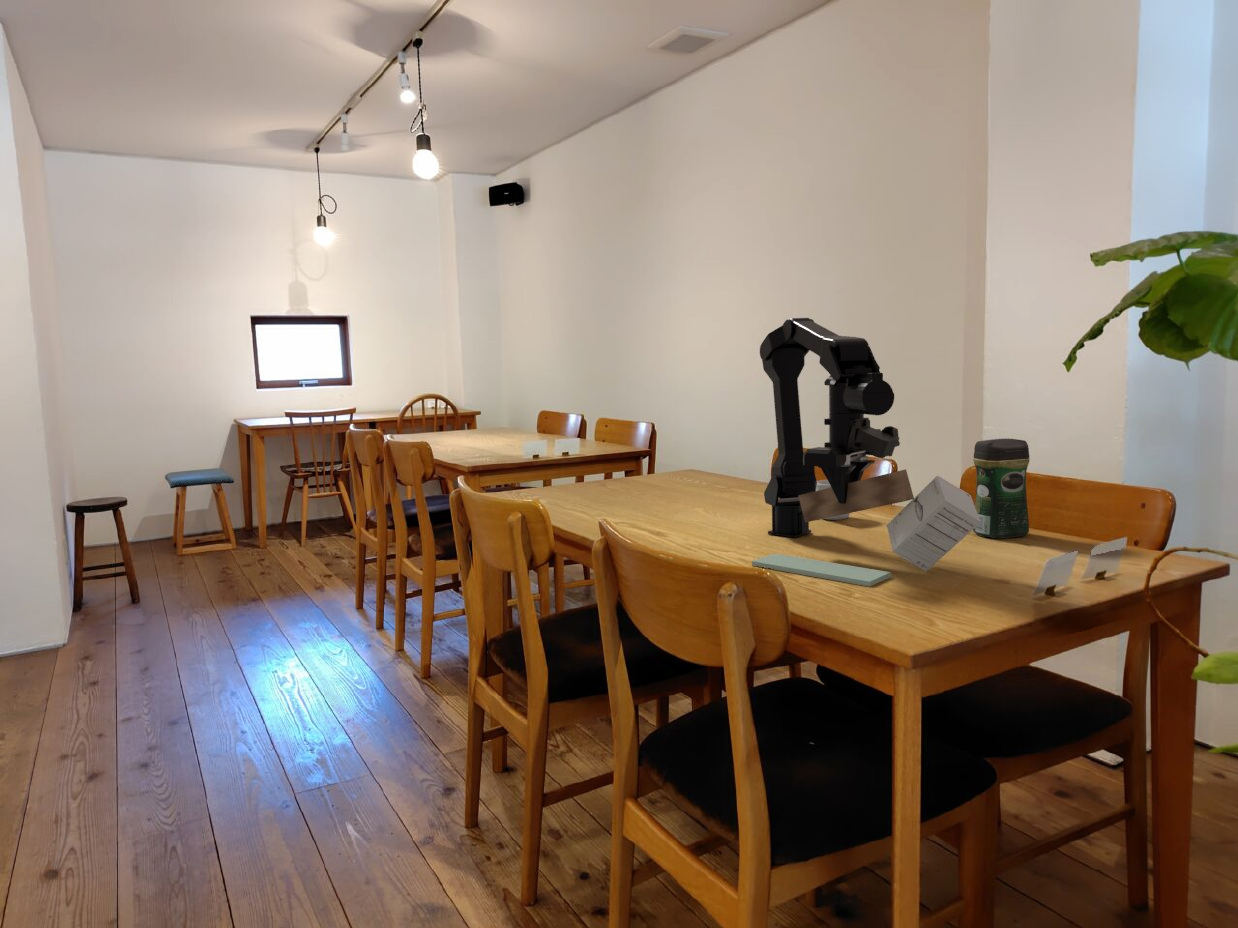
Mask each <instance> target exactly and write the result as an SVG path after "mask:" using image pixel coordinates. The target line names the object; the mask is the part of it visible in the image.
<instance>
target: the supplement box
mask: <svg viewBox="0 0 1238 928" xmlns="http://www.w3.org/2000/svg"><path fill="white" fill-rule="evenodd" d="M980 523H981V521H980V518H979V516H978V513H977V511H976V508H975V502H974V501H973V498H972V495H970V493H968V492H967V491H964V490H963V489H961V488H960V487H958V486H956V485H955V484H953V483H951V482H949V481H948V480H946V479H945V478H943V477H941V476H940V475H936V476H935V477H934V478H933V479H932V480H931V481H930V482H929V483H928V484H927V485H926V486H925V487H924V488H923V489H922V490H921V491H920V492H919V493H918V494H917V495H916V496H914V499H911V500H910V501H909V502H908V504H906V506H904V507H903V508H902V509H901V510H900V511H899V512H898V513H897V514H896V515H895V516H894V517H893V518H892V519H891V520H890V521H889V522H888V523H887V524H886V528H887V532H888V537H889V540H890V545H891V550H892V551H891V552H892V553H894V554H895V555H896V556H899V557H900V558H902V559H904V560H906V561H907V562H909V563H911V564H912V565H914V566H916V567H917V568H920V569H921V570H922V571H925V572H927V571H929V570H930V569H931V568H932V567H933V566H935V564H936V563H938V562H939V561H940V560H941V559H942V558H943V557H944V556H946V554H947V553H949V552H950V551H951V550H952V549H953V548H954V547H955V546H956V545H957V544H959V543H960V542H961V541H962V540H963V539H964V538H965V537H966V536H968V535H969V534H970V533H971V532H973V529H974V528H975V527H976V526H977V525H979V524H980Z"/></svg>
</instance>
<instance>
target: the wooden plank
mask: <svg viewBox="0 0 1238 928" xmlns="http://www.w3.org/2000/svg"><path fill="white" fill-rule="evenodd" d="M798 497H799V501H800V504H801V508H802V512H803V516H804V520H805V522H809V523H810V522H814V521H819V520H823V519H824V518H829V517H834V516H838V515H843V514H848V513H850V514H853V513H856V512H862V511H865V510H871V509H875V508H881V507H885V506H890V505H893V504H898V503H902V502H903V503H904V502H908V501H912V500H913V499H914V498H915V496H914V493H913V489H912V487H911V483H910V479H909V475H908V471H907V469H906V468H905V469H902V470H897V471H893V472H889V473H885V474H881V475H877V476H873V477H868V478H864V479H861V480H860V481H856V482H851V483H848V491H847V499H846V503H845V504H841V503H839V502H838V500H837V498H836V496H835V493H834V491H833V489H832V487H831V488H827V489H823V490H818V491H814V492H810V493H806V494H802V495H798ZM824 520H825V519H824Z"/></svg>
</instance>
